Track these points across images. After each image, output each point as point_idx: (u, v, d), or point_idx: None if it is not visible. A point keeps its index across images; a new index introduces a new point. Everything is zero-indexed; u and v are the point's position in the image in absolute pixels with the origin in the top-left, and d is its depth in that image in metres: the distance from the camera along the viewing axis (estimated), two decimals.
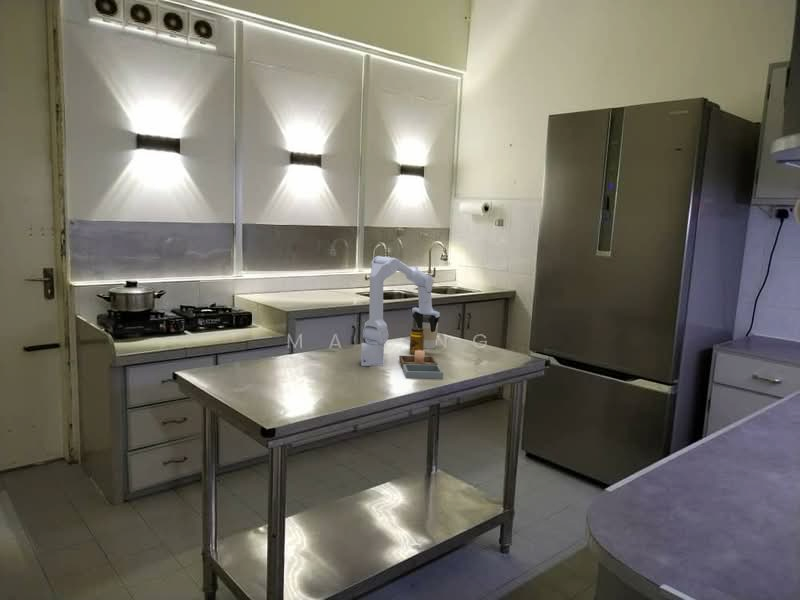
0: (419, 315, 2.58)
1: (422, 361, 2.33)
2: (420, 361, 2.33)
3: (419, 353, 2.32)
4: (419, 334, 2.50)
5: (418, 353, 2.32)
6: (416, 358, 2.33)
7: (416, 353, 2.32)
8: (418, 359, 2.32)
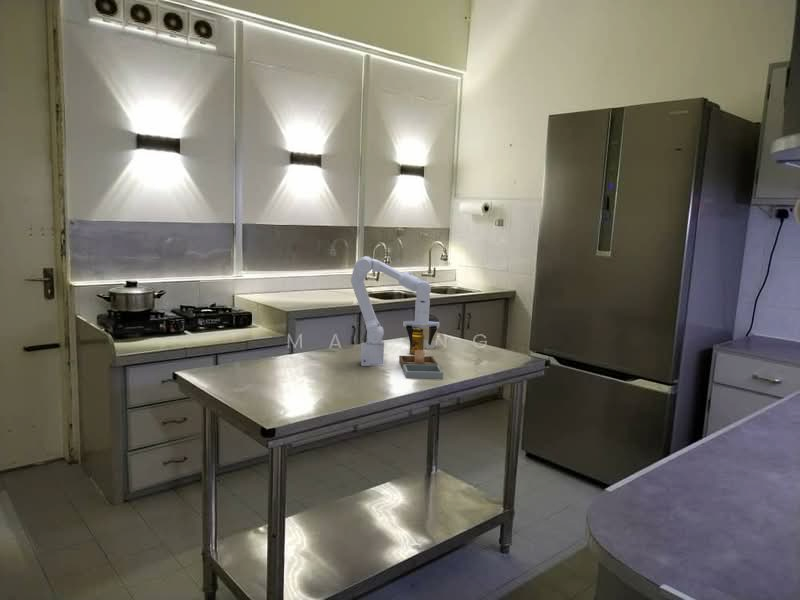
0: (430, 329, 2.33)
1: (422, 361, 2.33)
2: (420, 361, 2.33)
3: (419, 353, 2.32)
4: (419, 334, 2.50)
5: (418, 353, 2.32)
6: (416, 358, 2.33)
7: (416, 353, 2.32)
8: (418, 359, 2.32)
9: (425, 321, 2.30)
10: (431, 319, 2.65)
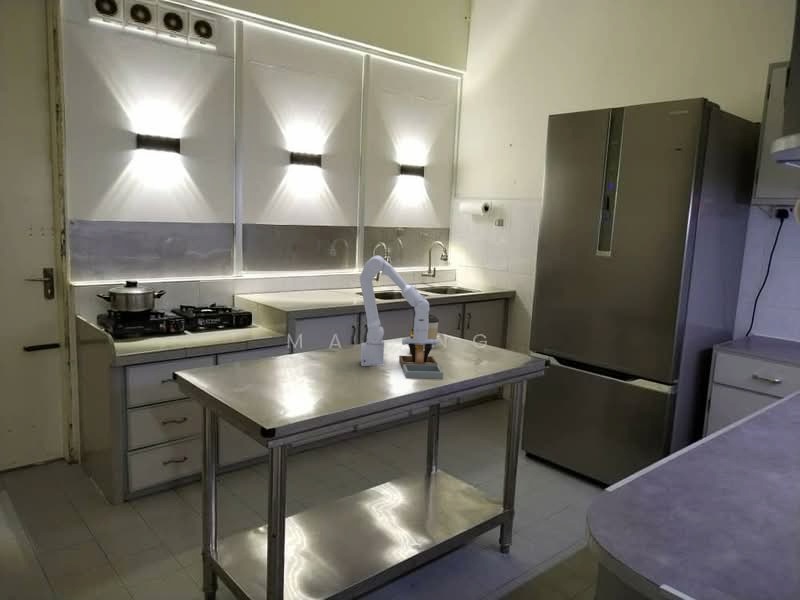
0: (425, 346, 2.34)
1: (422, 361, 2.33)
2: (420, 361, 2.33)
3: (419, 353, 2.32)
4: None
5: (418, 353, 2.32)
6: (416, 358, 2.33)
7: (416, 353, 2.32)
8: (418, 359, 2.32)
9: (424, 339, 2.31)
10: (431, 319, 2.65)
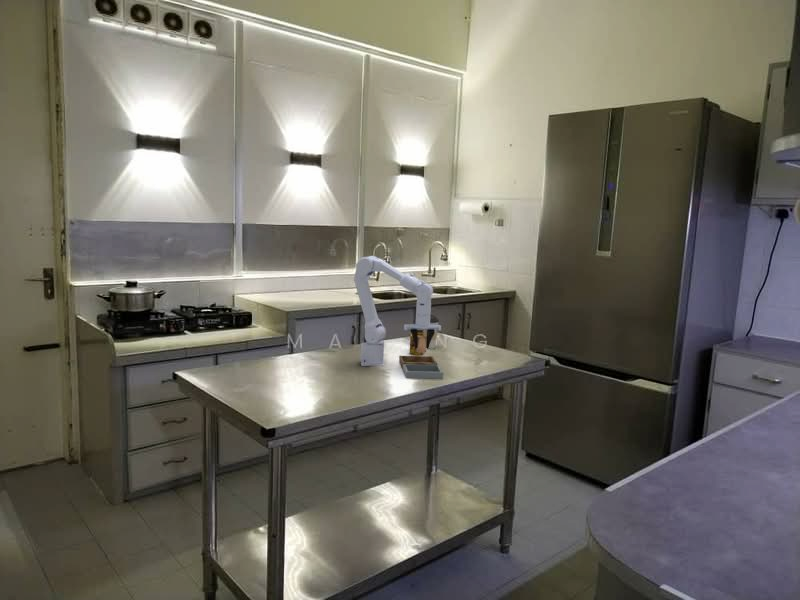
0: (427, 332, 2.28)
1: (424, 347, 2.27)
2: (422, 347, 2.27)
3: (422, 339, 2.26)
4: (419, 334, 2.50)
5: (420, 339, 2.27)
6: (418, 344, 2.27)
7: (418, 339, 2.27)
8: (420, 345, 2.27)
9: (426, 324, 2.25)
10: (431, 319, 2.65)
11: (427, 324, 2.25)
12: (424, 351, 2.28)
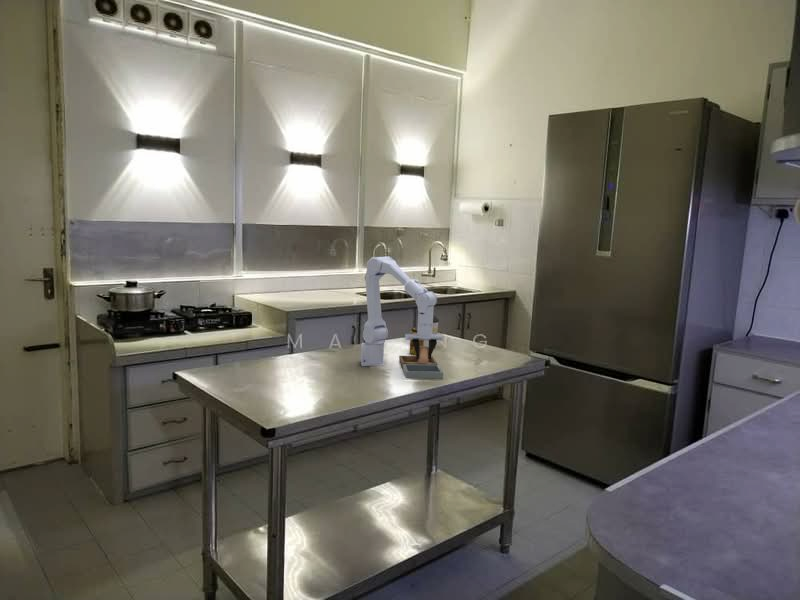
0: (429, 342, 2.20)
1: (426, 358, 2.20)
2: (424, 358, 2.19)
3: (423, 349, 2.19)
4: None
5: (421, 349, 2.19)
6: (420, 354, 2.20)
7: (420, 349, 2.19)
8: (422, 355, 2.19)
9: (428, 334, 2.17)
10: None
11: (429, 334, 2.17)
12: (426, 362, 2.20)
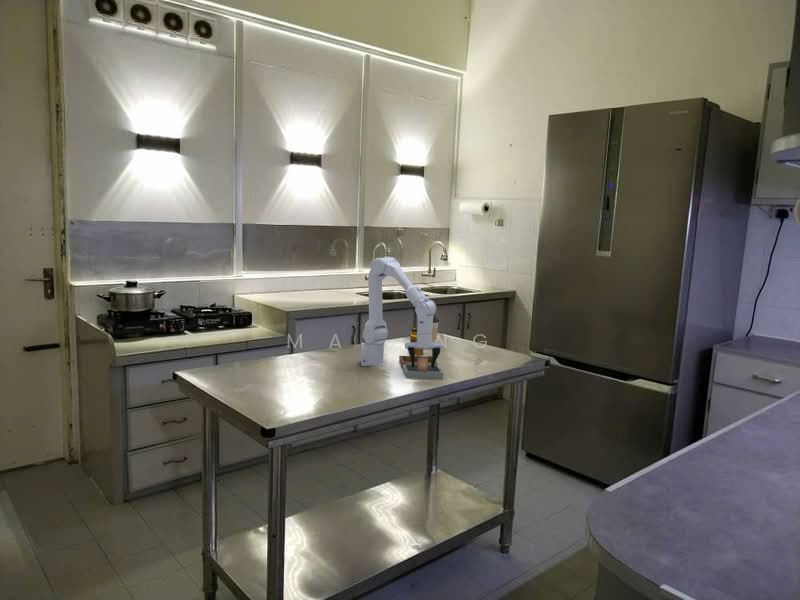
0: (433, 351, 2.21)
1: (425, 369, 2.20)
2: (423, 370, 2.20)
3: (422, 361, 2.19)
4: None
5: (420, 361, 2.19)
6: (419, 366, 2.20)
7: (419, 361, 2.20)
8: (421, 367, 2.20)
9: (428, 343, 2.18)
10: None
11: (429, 343, 2.18)
12: None
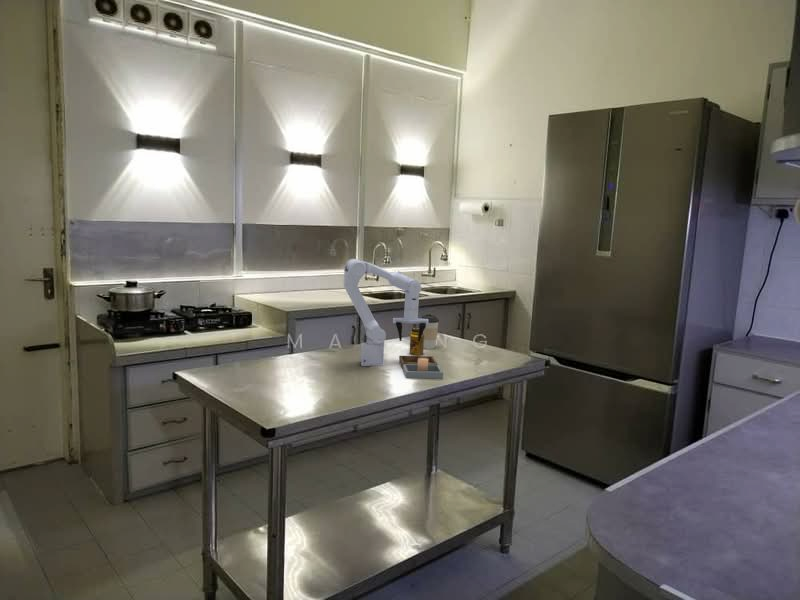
0: (419, 326, 2.39)
1: (426, 370, 2.20)
2: (423, 370, 2.20)
3: (423, 361, 2.19)
4: None
5: (421, 361, 2.19)
6: (419, 366, 2.20)
7: (419, 361, 2.20)
8: (421, 367, 2.20)
9: (414, 318, 2.35)
10: (431, 319, 2.65)
11: (415, 318, 2.35)
12: None
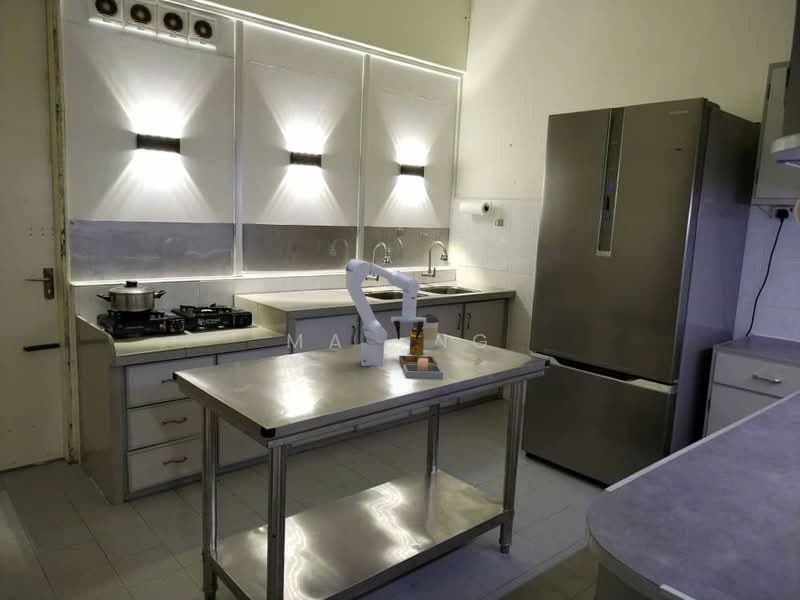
0: (417, 324, 2.41)
1: (425, 370, 2.20)
2: (423, 370, 2.20)
3: (423, 361, 2.19)
4: (419, 334, 2.50)
5: (421, 361, 2.19)
6: (419, 366, 2.20)
7: (419, 361, 2.20)
8: (421, 368, 2.20)
9: (412, 317, 2.38)
10: (431, 319, 2.65)
11: (413, 316, 2.38)
12: None
